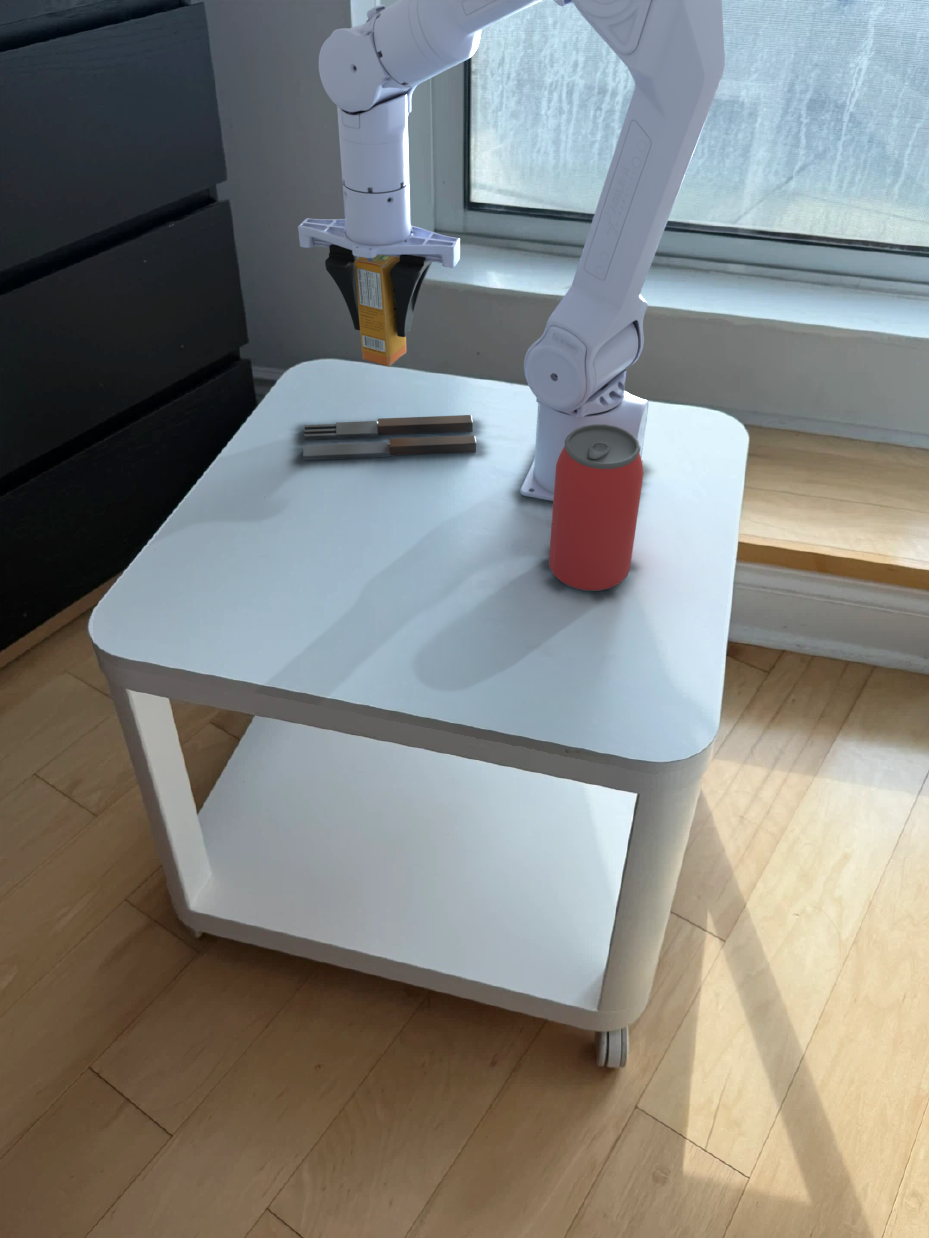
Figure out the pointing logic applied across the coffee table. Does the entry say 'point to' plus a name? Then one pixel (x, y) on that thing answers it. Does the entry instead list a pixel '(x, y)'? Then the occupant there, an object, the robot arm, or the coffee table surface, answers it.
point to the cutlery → (397, 444)
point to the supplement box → (378, 310)
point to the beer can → (595, 507)
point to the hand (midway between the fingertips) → (382, 328)
